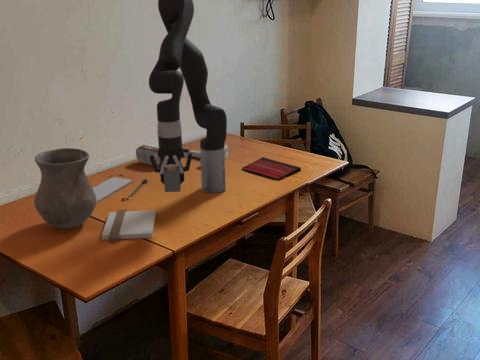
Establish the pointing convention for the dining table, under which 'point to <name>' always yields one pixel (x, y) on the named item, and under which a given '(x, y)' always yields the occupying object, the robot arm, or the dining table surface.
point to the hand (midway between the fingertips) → (172, 182)
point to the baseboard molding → (110, 187)
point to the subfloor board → (129, 225)
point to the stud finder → (172, 178)
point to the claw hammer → (198, 153)
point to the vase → (64, 188)
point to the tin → (147, 155)
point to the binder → (271, 168)
